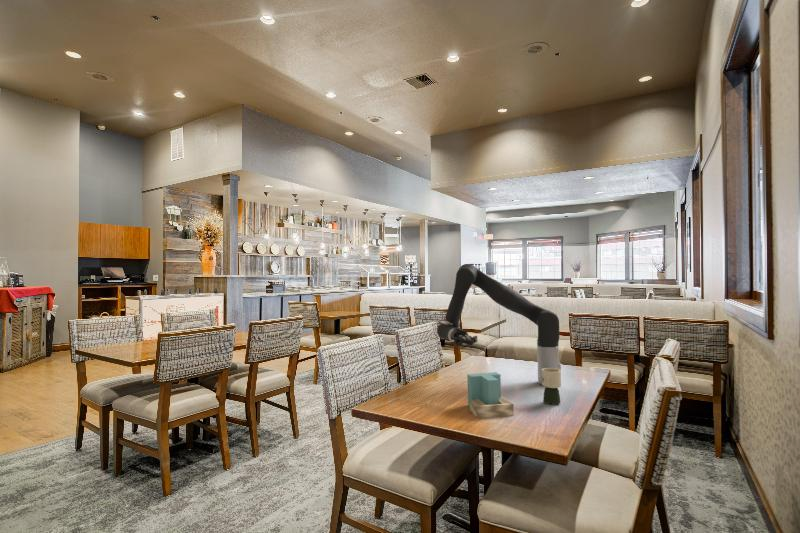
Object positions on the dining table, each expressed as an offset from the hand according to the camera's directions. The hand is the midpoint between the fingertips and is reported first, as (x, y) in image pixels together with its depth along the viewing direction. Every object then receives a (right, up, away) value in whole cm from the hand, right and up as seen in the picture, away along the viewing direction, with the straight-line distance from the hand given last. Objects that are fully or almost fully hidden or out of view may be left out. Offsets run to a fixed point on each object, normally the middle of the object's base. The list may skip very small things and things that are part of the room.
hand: (470, 343), depth 178 cm
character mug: (+30, -21, -13) cm, 39 cm away
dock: (+4, -22, -23) cm, 32 cm away
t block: (+4, -22, -17) cm, 28 cm away
